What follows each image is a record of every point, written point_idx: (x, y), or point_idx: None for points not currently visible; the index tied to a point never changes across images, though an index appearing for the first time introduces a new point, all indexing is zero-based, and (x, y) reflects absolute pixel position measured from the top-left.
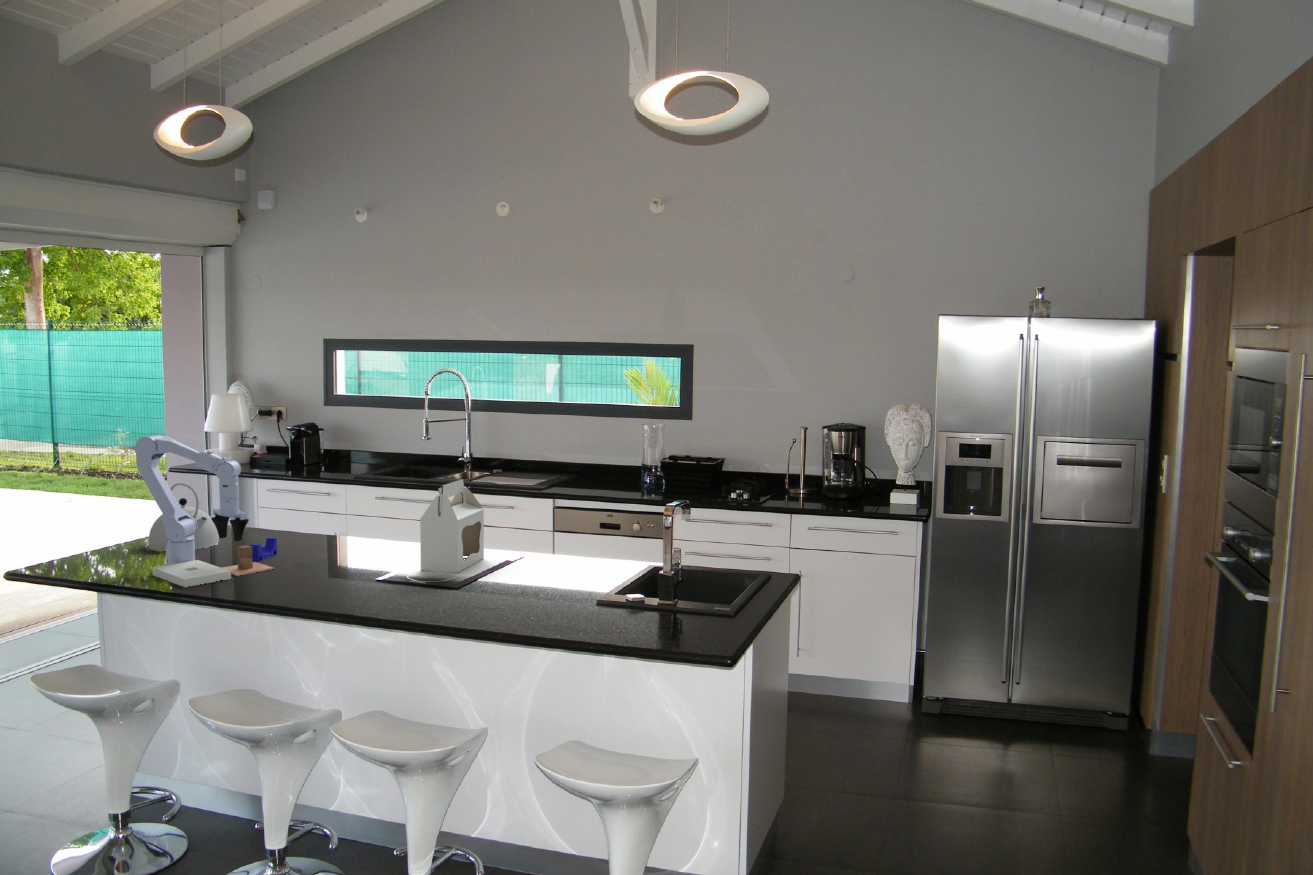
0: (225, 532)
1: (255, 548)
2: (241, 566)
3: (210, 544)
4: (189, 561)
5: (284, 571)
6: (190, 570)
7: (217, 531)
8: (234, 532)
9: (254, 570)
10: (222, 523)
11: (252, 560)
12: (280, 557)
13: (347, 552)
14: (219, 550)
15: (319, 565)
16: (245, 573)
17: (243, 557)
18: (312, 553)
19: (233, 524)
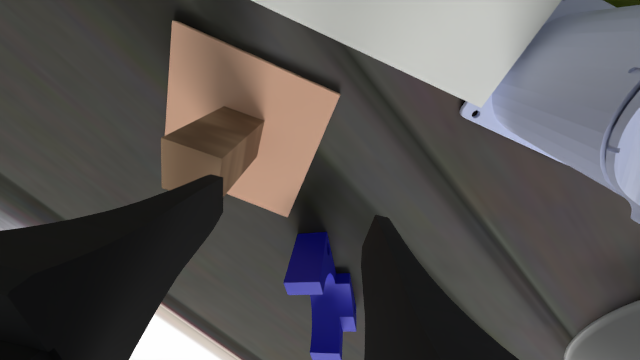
0: (365, 271)
1: (298, 269)
2: (232, 113)
3: (580, 348)
4: (511, 58)
5: (115, 154)
6: None
7: (409, 249)
8: (158, 199)
9: (176, 109)
10: (384, 338)
11: (317, 235)
12: (280, 282)
13: (186, 335)
14: (519, 314)
15: None
16: (172, 61)
17: (194, 122)
18: (243, 321)
19: (37, 238)
